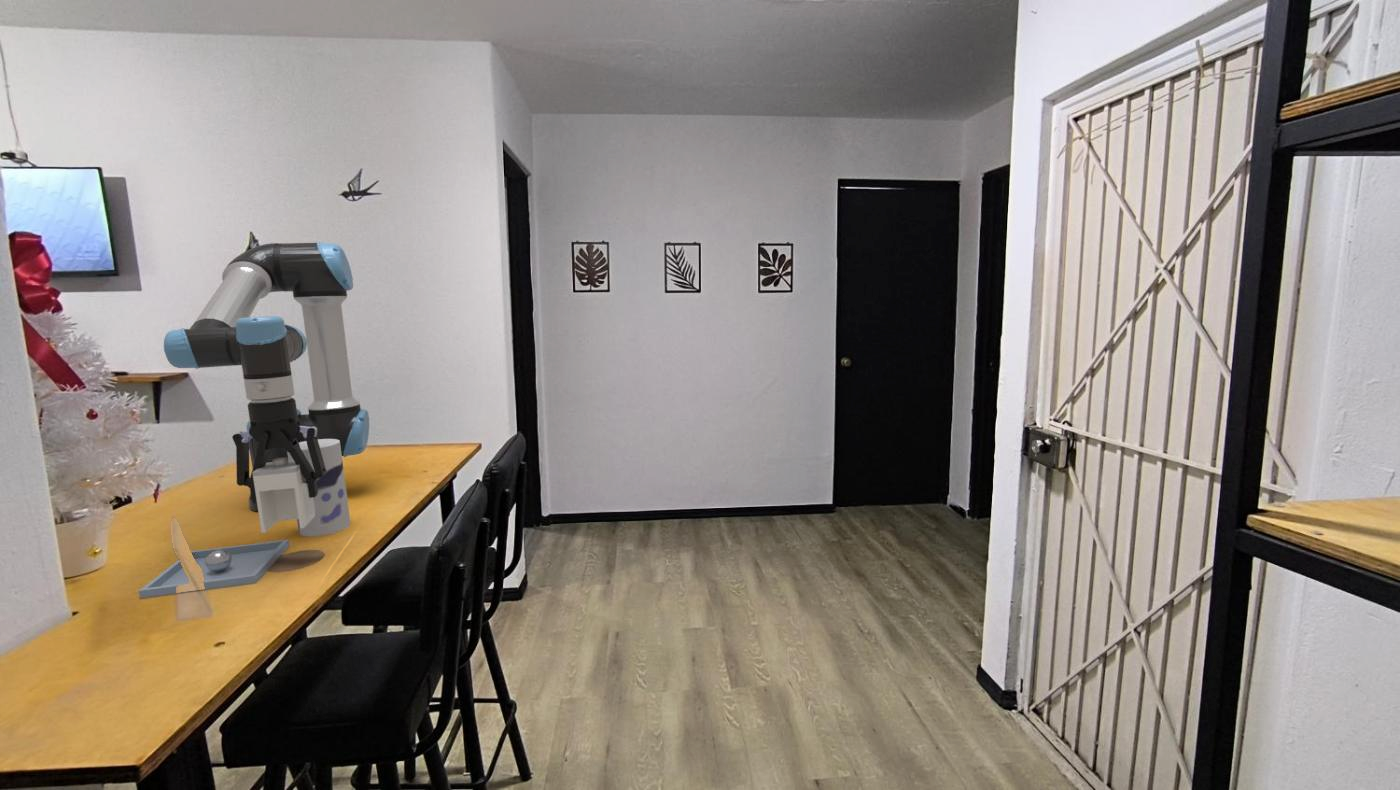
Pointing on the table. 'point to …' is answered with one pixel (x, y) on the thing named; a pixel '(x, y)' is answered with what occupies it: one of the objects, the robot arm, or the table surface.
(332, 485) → the container
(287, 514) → the open-front grey box
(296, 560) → the coaster
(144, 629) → the table surface
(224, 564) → the ball
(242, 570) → the tray
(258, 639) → the table surface
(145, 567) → the table surface
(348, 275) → the robot arm
